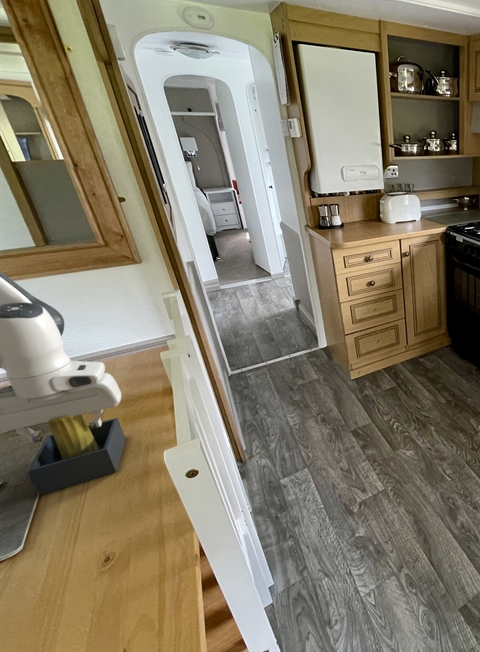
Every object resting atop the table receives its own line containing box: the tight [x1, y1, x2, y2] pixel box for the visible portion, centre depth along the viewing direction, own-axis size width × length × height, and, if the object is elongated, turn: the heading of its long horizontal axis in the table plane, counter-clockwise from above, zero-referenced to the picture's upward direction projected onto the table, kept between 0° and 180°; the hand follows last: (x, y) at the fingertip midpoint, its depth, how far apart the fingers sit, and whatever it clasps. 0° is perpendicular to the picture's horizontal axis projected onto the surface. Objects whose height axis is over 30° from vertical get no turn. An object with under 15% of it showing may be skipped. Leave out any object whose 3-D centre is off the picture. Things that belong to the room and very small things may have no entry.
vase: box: [46, 414, 100, 460], centre depth 83 cm, size 6×6×14 cm
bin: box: [26, 417, 126, 496], centre depth 85 cm, size 12×12×7 cm
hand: (68, 433), depth 82 cm, fingers open, 8 cm apart
